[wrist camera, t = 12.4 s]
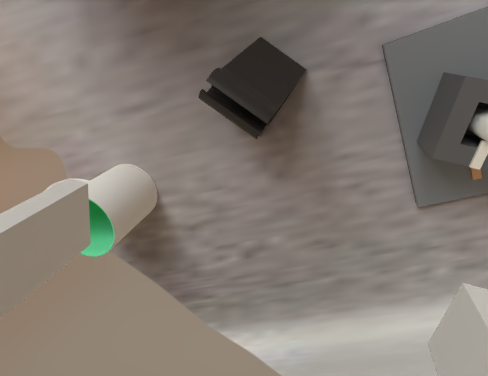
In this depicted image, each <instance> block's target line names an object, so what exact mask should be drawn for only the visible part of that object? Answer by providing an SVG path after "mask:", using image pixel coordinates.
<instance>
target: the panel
mask: <svg viewBox="0 0 488 376" xmlns="http://www.w3.org/2000/svg"><path fill="white" fill-rule="evenodd" d="M382 47H383V52H384V56H385V61H386V66H387V70H388V75H389V80H390V84H391V89H392V93H393V98H394V103H395V107H396V112H397V117H398V121H399V126H400V131H401V135H402V140H403V145H404V149H405V154H406V158H407V163H408V168H409V172H410V177H411V182H412V186H413V191H414V196H415V200H416V204H417V206H418V207H423V206H428V205H433V204H438V203H443V202H448V201H453V200H458V199H463V198H468V197H473V196H478V195H483V194H488V170H483V169H480V170H479V169H475V168H470V167H469V166H465V165H460V164H456V163H451V162H447V161H442V160H437V159H433V158H431V157H430V156H429V155H428V154H427V153H426V152H425V150H424V149H423V148H422V147H421V146H420V145H419V144H418V143H417V139H418V137H419V134H420V132H421V129H422V126H423V124H424V121H425V119H426V116H427V114H428V111H429V109H430V106H431V103H432V101H433V98H434V96H435V93H436V91H437V88H438V86H439V83H440V80H441V78H442V75H443V73H444V72H446V73H451V74H457V75H462V76H468V77H474V78H479V79H485V80H488V7H486V8H483V9H480V10H477V11H475V12H472V13H469V14H466V15H464V16H461V17H458V18H455V19H453V20H450V21H447V22H444V23H442V24H439V25H436V26H433V27H431V28H428V29H425V30H422V31H420V32H417V33H414V34H411V35H409V36H406V37H403V38H400V39H398V40H395V41H392V42H389V43H387V44H384V45H382ZM465 135H469V136H474V137H478V136H479V137H480V138H482V139H484V140H485V141H487V142H488V104H487V103H481V102H479V103H478V105H477V108H476V110H475V112H474V114H473V117H472V119H471V121H470V123H469V125H468V128H467V130H466V132H465Z"/></svg>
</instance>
